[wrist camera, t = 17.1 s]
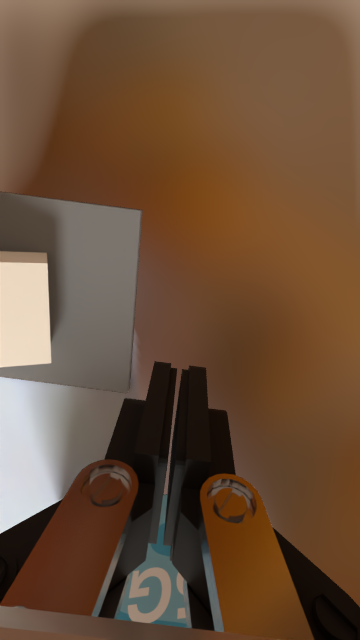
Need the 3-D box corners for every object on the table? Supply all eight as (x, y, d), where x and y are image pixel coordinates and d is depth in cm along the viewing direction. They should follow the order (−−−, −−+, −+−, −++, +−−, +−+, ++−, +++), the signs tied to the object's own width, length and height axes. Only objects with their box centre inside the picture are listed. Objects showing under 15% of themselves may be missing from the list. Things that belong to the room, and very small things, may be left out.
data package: (220, 481, 22) (243, 782, 11) (238, 526, 24) (274, 830, 13) (59, 514, 24) (-59, 798, 13) (85, 554, 26) (0, 838, 15)
